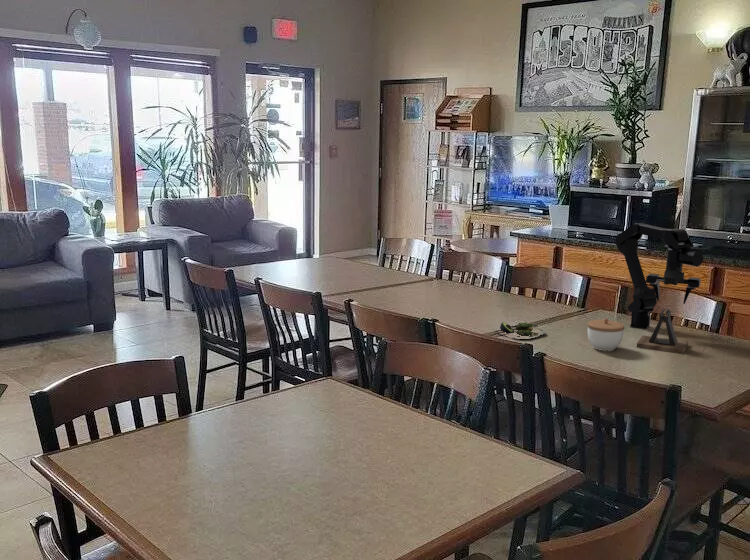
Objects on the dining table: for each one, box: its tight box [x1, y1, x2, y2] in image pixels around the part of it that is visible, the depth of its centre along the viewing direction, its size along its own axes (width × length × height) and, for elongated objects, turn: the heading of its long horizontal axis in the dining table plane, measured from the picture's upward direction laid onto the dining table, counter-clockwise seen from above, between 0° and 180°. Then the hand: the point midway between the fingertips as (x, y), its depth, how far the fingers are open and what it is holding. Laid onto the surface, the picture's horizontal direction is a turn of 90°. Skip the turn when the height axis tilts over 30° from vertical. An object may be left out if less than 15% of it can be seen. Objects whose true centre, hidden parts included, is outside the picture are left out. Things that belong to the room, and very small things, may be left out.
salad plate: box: [500, 321, 546, 337], centre depth 276 cm, size 19×18×5 cm
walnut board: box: [636, 335, 689, 355], centre depth 258 cm, size 16×12×2 cm
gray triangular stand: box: [649, 308, 678, 346], centre depth 257 cm, size 9×6×12 cm, turn 60°
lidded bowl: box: [587, 318, 625, 352], centre depth 255 cm, size 13×13×11 cm
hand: (671, 302), depth 270 cm, fingers open, 9 cm apart
